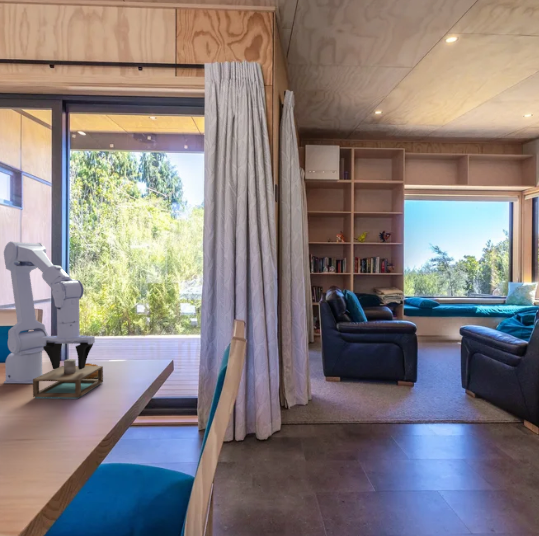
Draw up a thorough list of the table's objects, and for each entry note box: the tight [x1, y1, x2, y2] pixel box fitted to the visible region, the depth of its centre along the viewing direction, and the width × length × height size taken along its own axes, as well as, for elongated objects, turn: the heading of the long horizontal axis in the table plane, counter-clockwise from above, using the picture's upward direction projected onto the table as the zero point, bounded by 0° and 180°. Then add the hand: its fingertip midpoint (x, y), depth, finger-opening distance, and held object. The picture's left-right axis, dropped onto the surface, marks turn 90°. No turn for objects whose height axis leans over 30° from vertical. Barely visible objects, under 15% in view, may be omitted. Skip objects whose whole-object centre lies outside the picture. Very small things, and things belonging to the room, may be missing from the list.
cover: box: [32, 358, 104, 398], centre depth 106 cm, size 13×13×8 cm
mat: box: [34, 383, 99, 400], centre depth 106 cm, size 12×12×1 cm
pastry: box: [84, 362, 99, 379], centre depth 119 cm, size 9×7×4 cm
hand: (68, 368), depth 106 cm, fingers open, 7 cm apart
